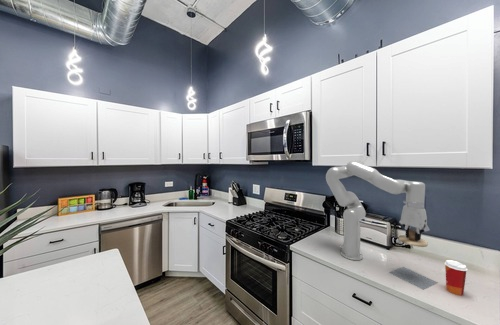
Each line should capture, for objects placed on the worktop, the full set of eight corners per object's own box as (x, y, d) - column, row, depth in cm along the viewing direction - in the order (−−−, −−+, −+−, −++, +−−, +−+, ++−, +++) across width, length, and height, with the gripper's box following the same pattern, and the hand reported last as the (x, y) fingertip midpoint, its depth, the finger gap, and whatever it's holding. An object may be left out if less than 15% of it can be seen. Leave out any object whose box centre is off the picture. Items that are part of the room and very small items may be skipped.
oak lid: (393, 239, 109) (394, 228, 109) (406, 235, 114) (406, 225, 114) (419, 248, 98) (420, 236, 98) (432, 244, 103) (433, 233, 103)
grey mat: (388, 273, 111) (388, 272, 110) (403, 267, 116) (403, 266, 116) (423, 290, 96) (423, 289, 96) (438, 283, 102) (438, 282, 102)
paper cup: (453, 287, 99) (454, 259, 99) (471, 297, 91) (472, 268, 91) (438, 287, 99) (439, 259, 98) (455, 298, 91) (456, 268, 91)
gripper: (393, 201, 111) (391, 234, 112) (430, 209, 96) (428, 246, 97) (401, 200, 114) (399, 232, 115) (438, 208, 99) (436, 244, 100)
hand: (412, 238), depth 106 cm, fingers closed on oak lid, 3 cm apart
